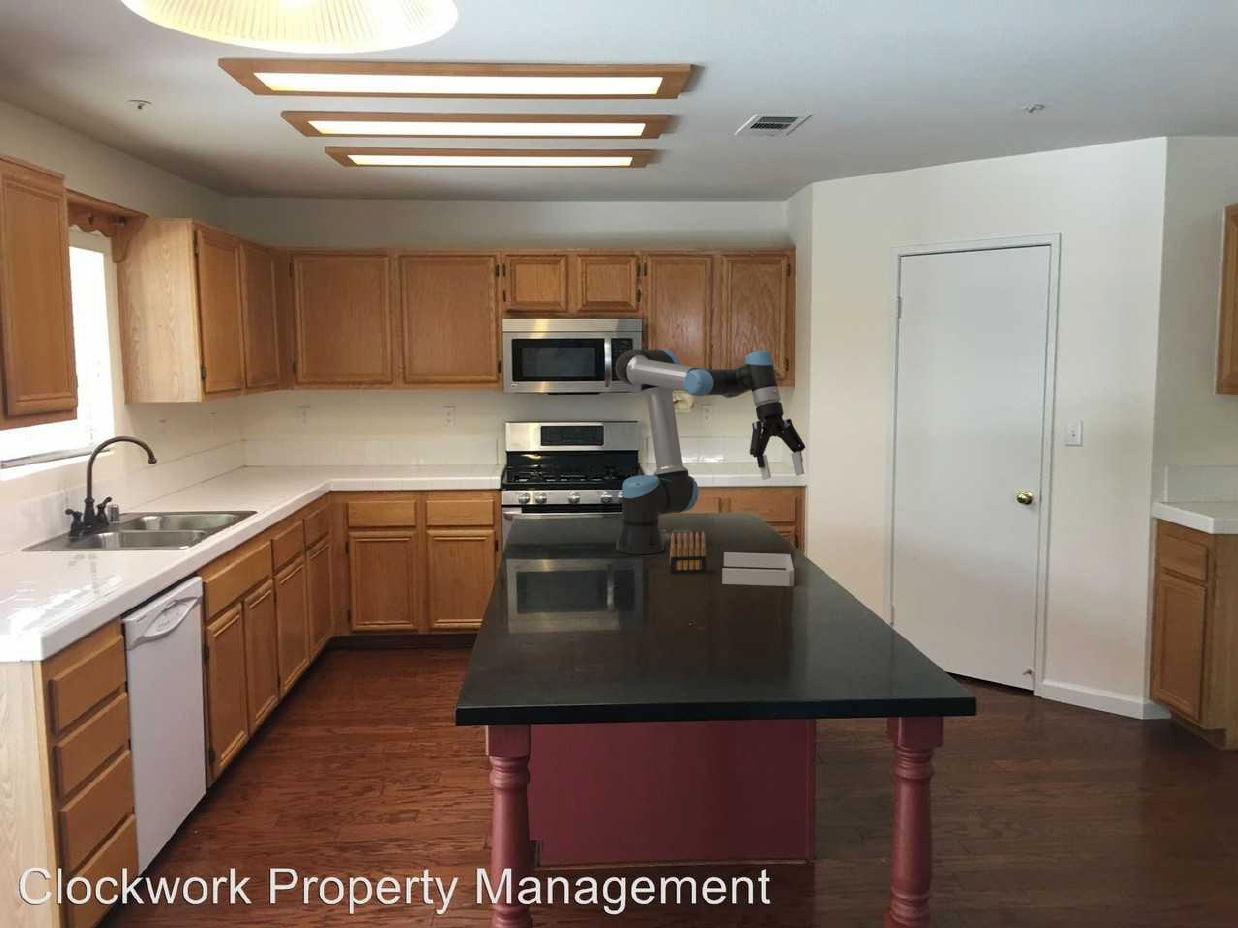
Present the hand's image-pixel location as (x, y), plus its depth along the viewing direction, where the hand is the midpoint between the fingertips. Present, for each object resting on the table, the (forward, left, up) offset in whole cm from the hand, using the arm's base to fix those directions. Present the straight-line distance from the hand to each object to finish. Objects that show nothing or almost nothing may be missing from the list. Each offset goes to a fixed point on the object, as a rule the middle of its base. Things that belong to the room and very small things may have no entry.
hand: (783, 476), depth 262 cm
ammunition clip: (+5, -27, -28) cm, 39 cm away
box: (+5, -8, -28) cm, 29 cm away
